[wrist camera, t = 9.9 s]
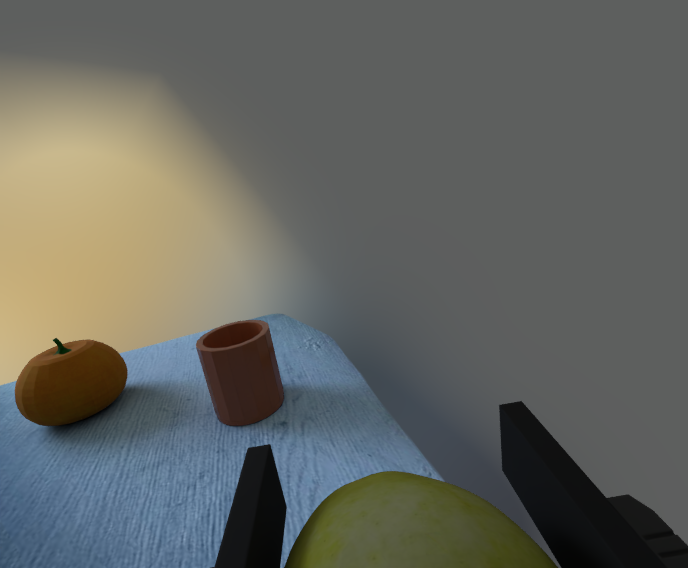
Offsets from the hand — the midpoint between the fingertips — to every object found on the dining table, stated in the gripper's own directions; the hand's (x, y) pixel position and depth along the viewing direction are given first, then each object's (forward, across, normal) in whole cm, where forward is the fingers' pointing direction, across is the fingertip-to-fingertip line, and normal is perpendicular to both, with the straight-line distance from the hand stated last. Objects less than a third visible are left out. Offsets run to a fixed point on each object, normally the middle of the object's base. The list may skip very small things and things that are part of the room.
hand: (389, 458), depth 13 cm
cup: (+28, -13, -14) cm, 34 cm away
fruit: (+33, -36, -14) cm, 52 cm away
